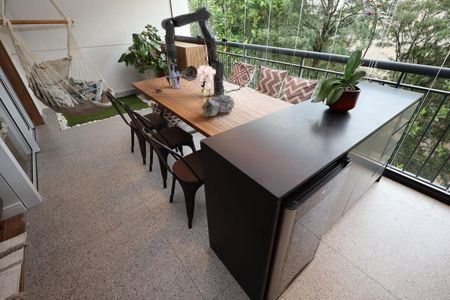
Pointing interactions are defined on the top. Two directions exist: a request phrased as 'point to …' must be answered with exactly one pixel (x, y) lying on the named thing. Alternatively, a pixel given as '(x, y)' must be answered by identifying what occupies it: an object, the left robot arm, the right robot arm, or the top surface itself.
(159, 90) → the block
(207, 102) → the rock
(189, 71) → the bark piece
